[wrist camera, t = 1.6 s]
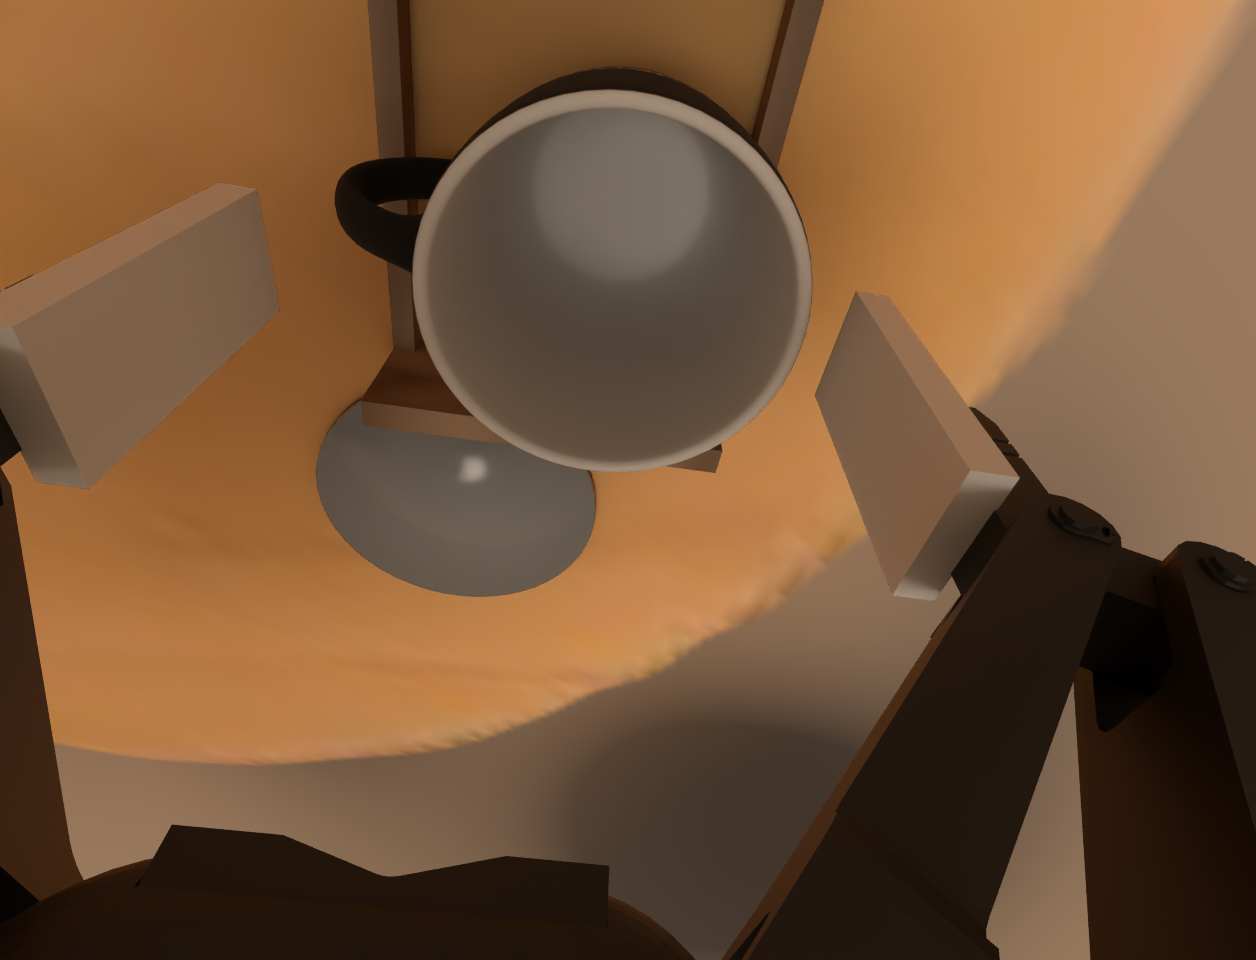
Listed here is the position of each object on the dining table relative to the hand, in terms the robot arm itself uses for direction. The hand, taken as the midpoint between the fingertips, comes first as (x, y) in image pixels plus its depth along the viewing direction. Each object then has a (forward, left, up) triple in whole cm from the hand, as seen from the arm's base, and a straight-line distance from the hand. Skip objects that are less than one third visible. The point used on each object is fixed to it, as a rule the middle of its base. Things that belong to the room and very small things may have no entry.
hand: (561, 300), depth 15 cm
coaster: (-4, -15, -10) cm, 18 cm away
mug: (0, 0, -10) cm, 10 cm away
